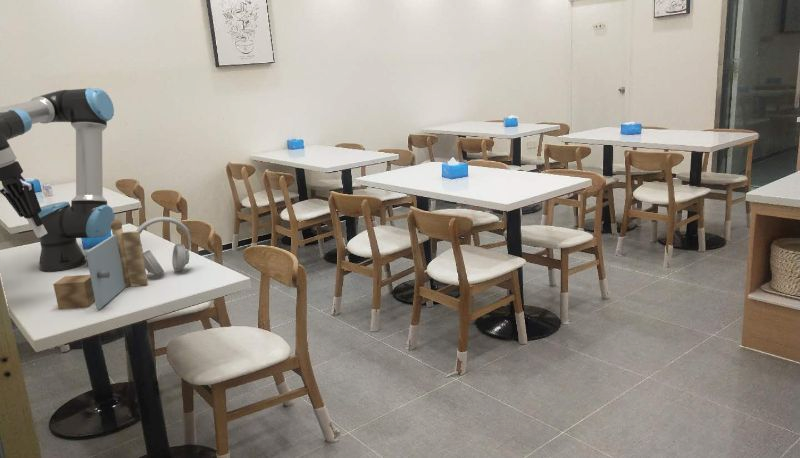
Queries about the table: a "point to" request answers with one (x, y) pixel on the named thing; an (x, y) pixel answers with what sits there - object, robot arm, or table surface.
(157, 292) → the table surface
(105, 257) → the door
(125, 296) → the table surface
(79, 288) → the walnut block
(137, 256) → the brown long wooden part
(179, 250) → the headphones
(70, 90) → the robot arm
